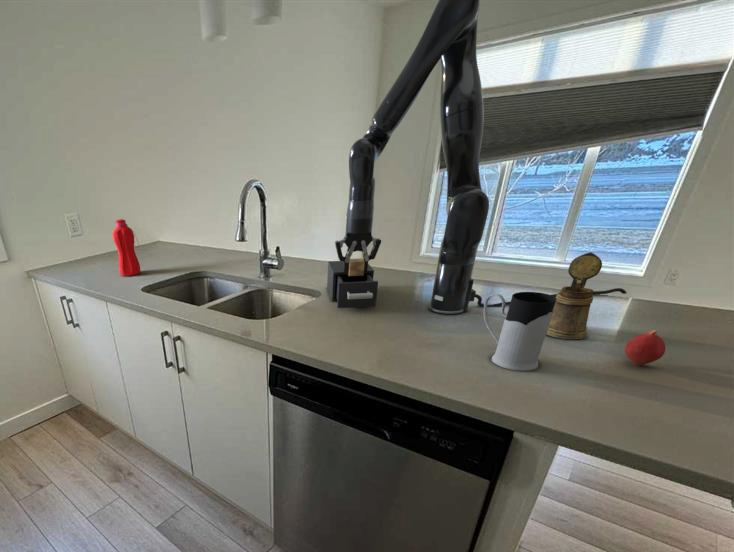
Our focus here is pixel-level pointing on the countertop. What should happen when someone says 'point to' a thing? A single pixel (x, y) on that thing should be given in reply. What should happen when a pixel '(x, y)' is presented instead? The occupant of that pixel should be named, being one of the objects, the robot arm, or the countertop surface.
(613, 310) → the countertop surface
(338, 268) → the small drawer cabinet
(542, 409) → the countertop surface
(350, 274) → the block
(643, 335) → the onion
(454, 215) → the robot arm
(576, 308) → the wooden mug
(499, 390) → the countertop surface
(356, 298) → the dark grey drawer
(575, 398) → the countertop surface
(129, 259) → the water bottle
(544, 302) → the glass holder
